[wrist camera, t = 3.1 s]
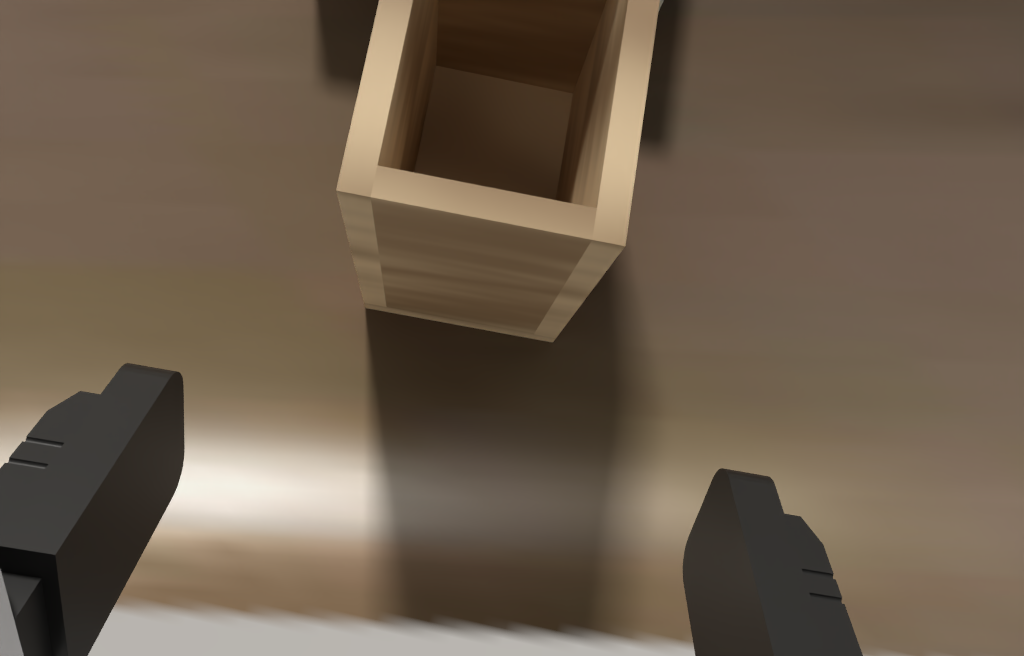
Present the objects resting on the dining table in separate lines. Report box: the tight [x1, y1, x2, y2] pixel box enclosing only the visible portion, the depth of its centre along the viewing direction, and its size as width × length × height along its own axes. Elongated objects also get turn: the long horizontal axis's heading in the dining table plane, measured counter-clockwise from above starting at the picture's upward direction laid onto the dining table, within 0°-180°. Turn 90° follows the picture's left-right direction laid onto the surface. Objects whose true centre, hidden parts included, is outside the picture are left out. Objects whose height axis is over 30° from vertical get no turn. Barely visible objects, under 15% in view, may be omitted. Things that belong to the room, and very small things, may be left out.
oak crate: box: [336, 0, 660, 343], centre depth 24 cm, size 9×6×10 cm, turn 171°
